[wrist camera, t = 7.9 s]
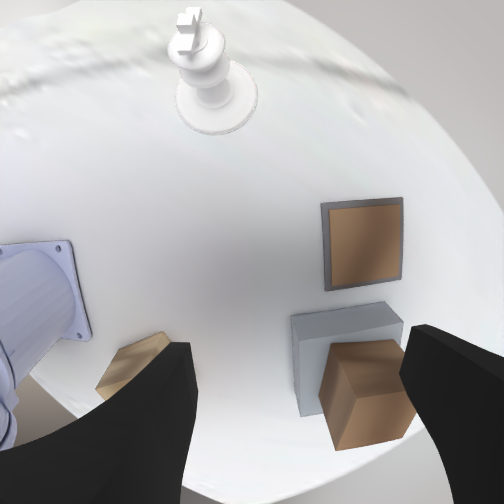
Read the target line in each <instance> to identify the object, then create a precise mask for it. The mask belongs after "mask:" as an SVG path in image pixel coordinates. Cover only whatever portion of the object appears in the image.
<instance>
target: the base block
mask: <svg viewBox="0 0 504 504" xmlns="http://www.w3.org/2000/svg"><path fill="white" fill-rule="evenodd" d="M291 322H292V341H293V363H294V388H295V394H296V398H297V403H298V408H299V412H300V417H305V416H311V415H317V414H322V413H323V409H322V406H321V403H320V400H319V397H318V395H319V391H320V387H321V383H322V379H323V375H324V371H325V367H326V363H327V358H328V354H329V349H330V345H331V343H346V342H363V341H377V340H389V339H394V340H395V341H396V342H397V344H398V345H399V346H400V343H401V337H402V331H403V324H404V321H403V320H402V319H401V318H400V317H399V316H398V315H397V314H396V313H395V312H394V311H393V310H392V309H391V308H390V307H389V306H388V305H387V304H386V303H385V301H384V302H378V303H373V304H367V305H361V306H355V307H349V308H343V309H337V310H330V311H324V312H317V313H310V314H302V315H295V316H291Z"/></svg>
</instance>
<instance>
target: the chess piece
mask: <svg viewBox="0 0 504 504" xmlns="http://www.w3.org/2000/svg"><path fill="white" fill-rule="evenodd" d="M201 17H202V11H201V7H188V8H187V9H186V13H182V14H179V16H178V20H177V24H176V26H177V28H178V30H177V31H176V32H175V33H174V34H173V36H172V37H171V39H170V41H169V44H168V55H169V58H170V60H171V61H172V62H173V63H174V64H175V65H176V66H178V67H180V75H181V78H180V80H179V82H178V84H177V87H176V91H175V104H176V108H177V111H178V113H179V115H180V117H181V119H182V120H183V121H184V122H185V123H186V124H187V125H188V126H189V127H190V128H192V129H193V130H195V131H197V132H200V133H203V134H208V135H220V134H225V133H229V132H232V131H234V130H236V129H238V128H239V127H241V126H242V125H243V124H245V123H246V122H247V121H248V119H249V118H250V117H251V116H252V114H253V112H254V110H255V108H256V105H257V99H258V92H257V86H256V83H255V81H254V79H253V77H252V75H251V74H250V72H249V71H248V70H247V69H246V68H245V67H243V66H242V65H241V64H239V63H237V62H235V61H232V60H229V57H228V56H227V54H226V53H225V52H224V49H225V38H224V35H223V33H222V32H221V31H220V30H219V29H218V28H217V27H216V26H214V25H212V24H209V23H204V22H200V21H201Z"/></svg>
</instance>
